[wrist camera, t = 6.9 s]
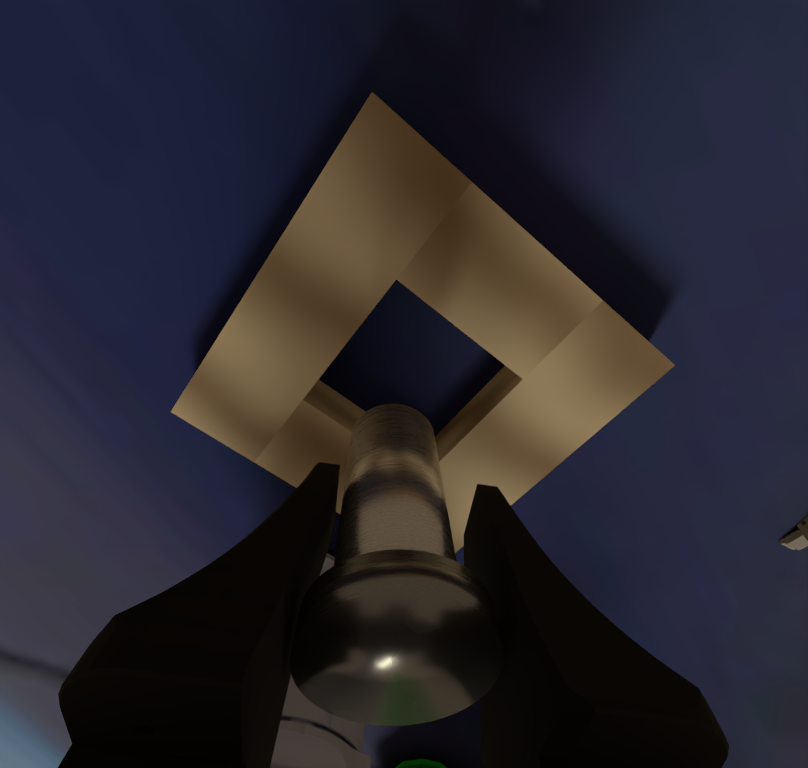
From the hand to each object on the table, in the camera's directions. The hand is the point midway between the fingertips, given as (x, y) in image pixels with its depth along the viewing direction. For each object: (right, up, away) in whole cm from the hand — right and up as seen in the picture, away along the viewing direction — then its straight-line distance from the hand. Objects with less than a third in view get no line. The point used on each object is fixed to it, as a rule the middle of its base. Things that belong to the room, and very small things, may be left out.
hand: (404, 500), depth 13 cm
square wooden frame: (0, +4, +9) cm, 10 cm away
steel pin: (0, +2, +3) cm, 3 cm away
